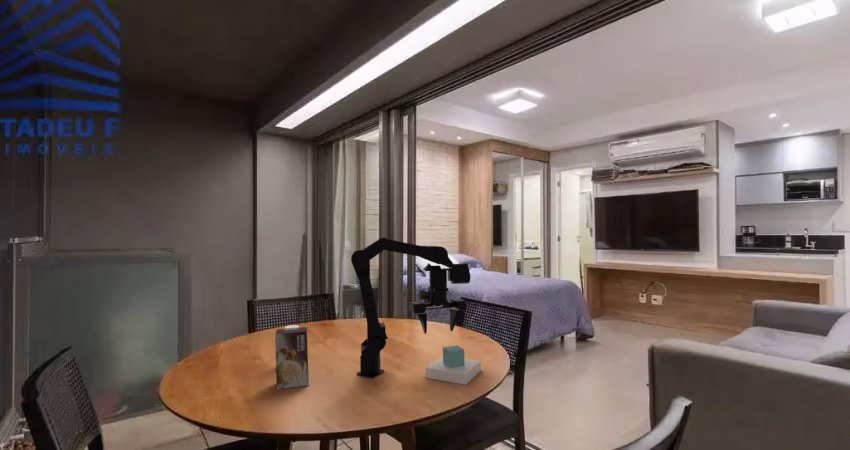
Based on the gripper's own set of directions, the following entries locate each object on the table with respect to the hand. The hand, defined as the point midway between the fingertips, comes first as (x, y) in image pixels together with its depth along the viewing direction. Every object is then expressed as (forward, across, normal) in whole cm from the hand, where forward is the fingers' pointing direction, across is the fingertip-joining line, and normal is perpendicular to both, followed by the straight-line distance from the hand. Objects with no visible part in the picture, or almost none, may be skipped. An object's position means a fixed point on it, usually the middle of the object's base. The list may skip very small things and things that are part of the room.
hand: (438, 332), depth 129 cm
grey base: (+12, -2, +7) cm, 14 cm away
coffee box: (+12, +45, -5) cm, 47 cm away
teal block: (+9, -2, +7) cm, 11 cm away
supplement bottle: (+13, +45, -24) cm, 52 cm away
